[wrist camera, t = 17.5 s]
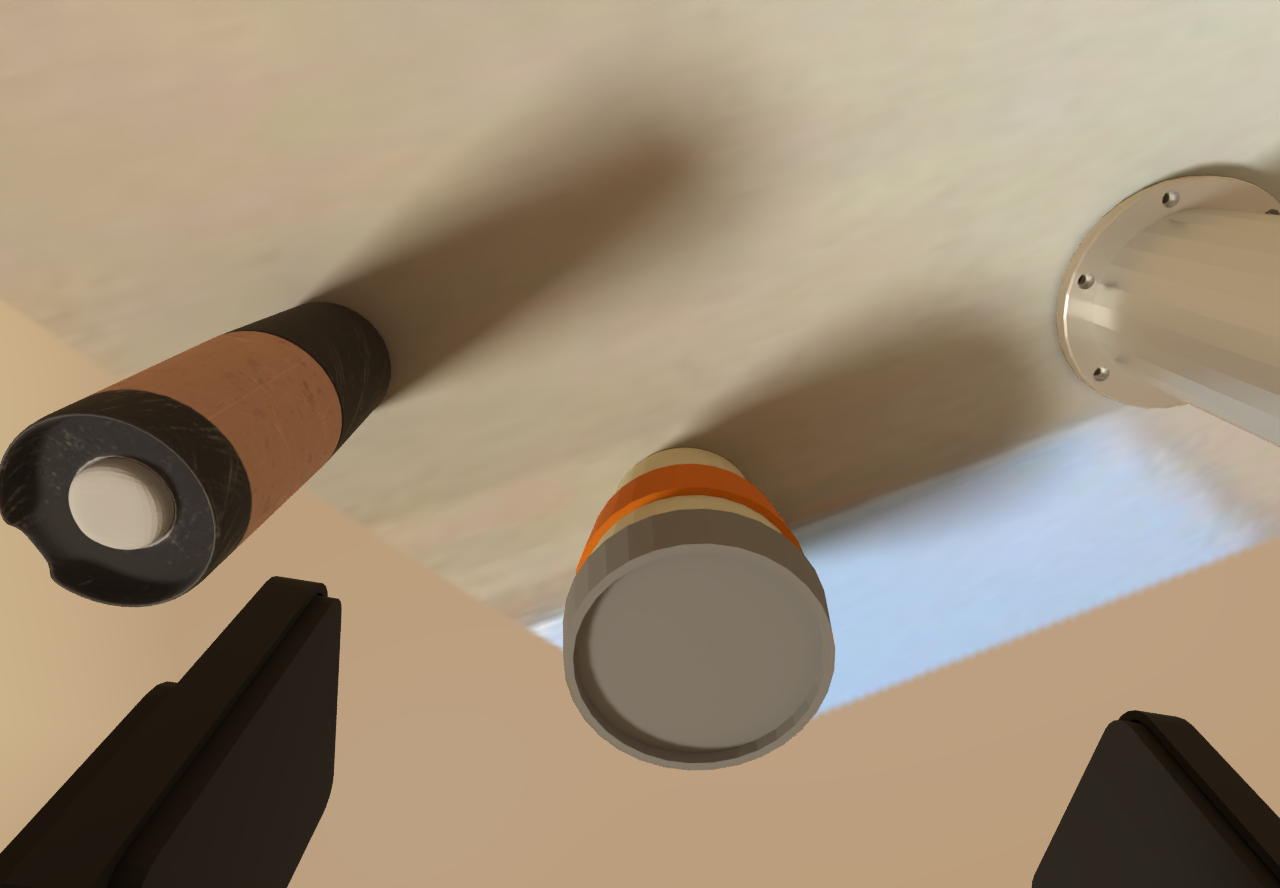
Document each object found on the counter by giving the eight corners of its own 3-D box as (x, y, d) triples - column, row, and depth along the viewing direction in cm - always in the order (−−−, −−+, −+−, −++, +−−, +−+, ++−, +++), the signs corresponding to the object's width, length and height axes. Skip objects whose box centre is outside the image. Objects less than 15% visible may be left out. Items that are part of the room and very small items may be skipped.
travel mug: (411, 324, 44) (239, 454, 26) (379, 442, 47) (202, 638, 28) (277, 276, 43) (-1, 375, 25) (252, 399, 46) (-17, 572, 27)
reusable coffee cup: (635, 384, 46) (631, 490, 32) (822, 470, 47) (896, 606, 33) (551, 556, 50) (513, 717, 36) (726, 629, 51) (756, 809, 37)
